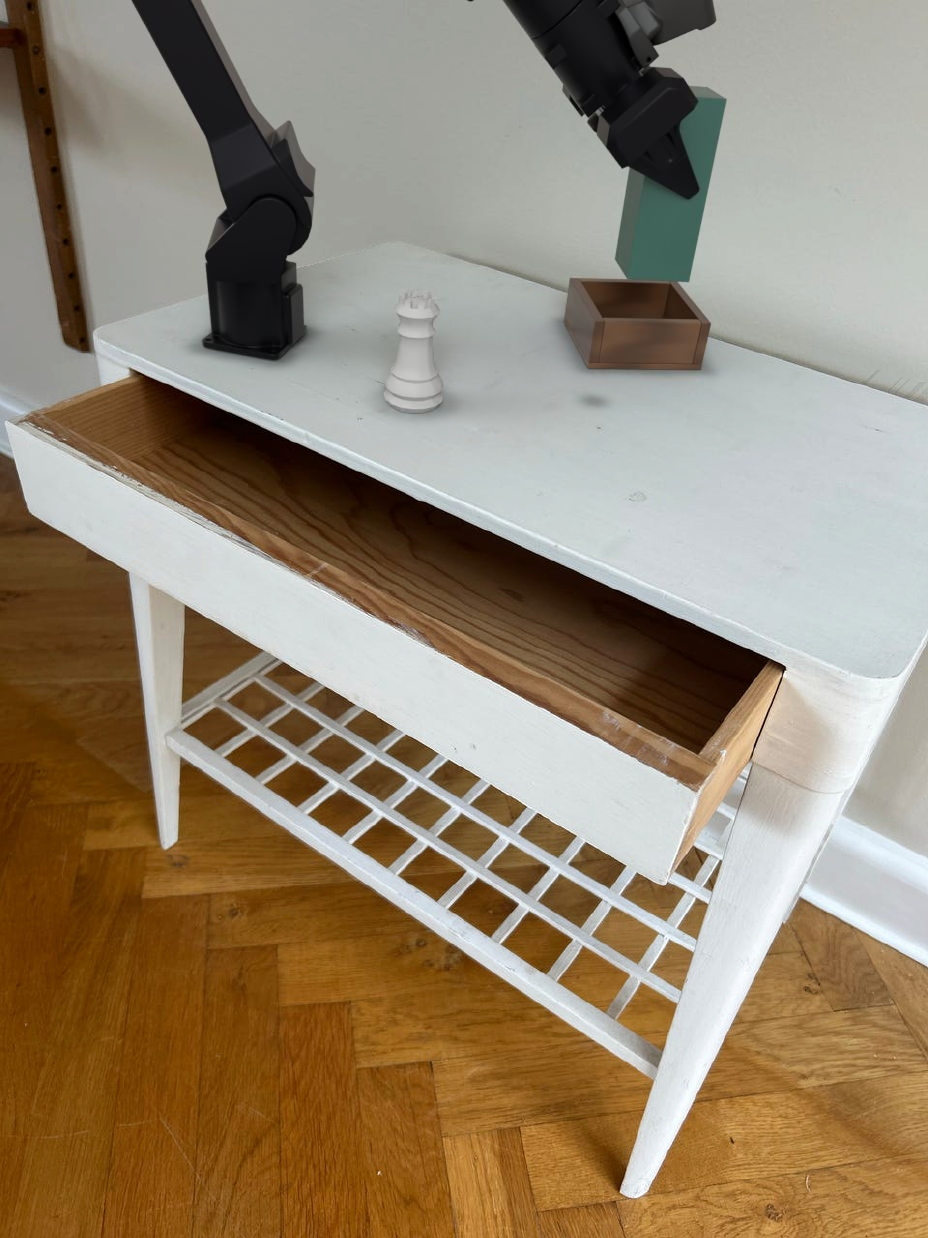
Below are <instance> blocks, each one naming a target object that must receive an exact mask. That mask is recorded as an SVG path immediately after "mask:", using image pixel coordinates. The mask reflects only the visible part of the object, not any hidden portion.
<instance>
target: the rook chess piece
mask: <svg viewBox="0 0 928 1238" xmlns="http://www.w3.org/2000/svg"><path fill="white" fill-rule="evenodd" d="M418 292H419V291H418V289H410V295H409V291H407V290H403V291H401V292H400V294H399V296H398V297H399V299H398V301H397V302H396V303H395V305H394V306H393V311H394V312H395V314H396V315H397V317H398V318H399V324H398V325H397V327H396V329H395V330H396V332H397V334H398V346H397V351H396V356H395V360H394V363H393V365H392V366H391V368H390V372H389V373H387V376H386V377H385V380H384V385H385V388H386V389H385V390H384V392H383V398H384V400H385V401H386V403H387V404H388V405H389V406H390V407H392V408H393V409H394V410H396V411H399V412H401V413H406V414H407V413H408V414H424V413H429V412H432V411H433V410H435V409H436V408H438V407H439V406H440V404H442V403H443V400H444V395H443V392H442V390H443V388H444V382H443V380H442V377H441V376H440V374H439V370H438V368H437V367H436V365H435V358H434V347H433V342H434V336H435V334H436V333H437V330H436V328H435V327H434V321H435V320H436V319H437V318H438V316H439V315H440V313H441V309H440V307H439V306H438V304H437V303H436V301H437V296H436V294H435V293H434V294H431V291H428V290H423V291H422V295H418Z"/></svg>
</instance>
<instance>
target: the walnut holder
mask: <svg viewBox="0 0 928 1238" xmlns="http://www.w3.org/2000/svg"><path fill="white" fill-rule="evenodd" d="M566 295H567V296H566V303H565V312H564V318H563V324H564V325H565V327H566V329H567V331H568V333H569V336H570V337H571V339H572V341H573V343H574V344H575V347H576V349H577V350H578V353H579V354H580V356H581V358H582V360H583V362H584V364H585V367H586V368H587V369H591V370H592V369H593V370H595V369H596V370H601V369H602V370H685V371H689V370H690V371H691V370H694V371H695V370H696V371H701V370H702V366H703V361H704V357H705V353H706V349H707V343H708V339H709V335H710V332H711V331H710V330H711V326H712V322H711V321H710V320H709V318H707V316H706V315H705V314H704V313H703V311H702V310H701V309H700V308H699V306H698V305H697V304H696V303H695V301H694V300H693V298H691V296H690V295H689V294H688V292H687V291H686V290H685V289H684V288H683V287H682V285H681V284H680V282H674V281H655V280H636V279H627V278H596V277H595V278H594V277H592V278H591V277H569V281H568V288H567V294H566Z"/></svg>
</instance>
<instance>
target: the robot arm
mask: <svg viewBox="0 0 928 1238" xmlns="http://www.w3.org/2000/svg"><path fill="white" fill-rule="evenodd" d="M130 1H131V3H132V4H133V6H134V8H135V10H136V11H137V14H138V16H139V17H140V19H141V21H142V23H143V24H144V27H145V28H146V30H147V32H148V34H149V35H150V37H151V40H152V41H153V43H154V45H155V47H156V49H157V51H158V52H159V54H160V56H161V58H162V60H163V61H164V63H165V65H166V67H167V69H168V71H169V72H170V74H171V76H172V78H173V80H174V82H175V83H176V85H177V87H178V90H179V91H180V93H181V95H182V96H183V98H184V100H185V102H186V104H187V106H188V108H189V109H190V111H191V113H192V115H193V117H194V119H195V120H196V122H197V124H198V126H199V128H200V130H201V132H202V133H203V135H204V137H205V140H206V142H207V146H208V149H209V153H210V157H211V160H212V164H213V168H214V172H215V175H216V179H217V183H218V186H219V191H220V193H221V197H222V199H223V202H224V204H225V207H226V208H225V209H224V210H223V211H222V212H221V213H220V214H219V215H218V216H217V217H216V220H215V223H214V226H213V229H212V232H211V234H210V238H209V241H208V244H207V248H206V251H205V254H204V258H205V259H204V260H205V261H206V262H205V263H204V265H205V266H204V267H205V277H206V287H207V297H208V309H209V321H210V332H209V333H208V334H207V335H206V336H204V337H203V338H202V339H201V343H202V346H203V347H204V348H208V349H212V350H213V349H214V350H220V351H224V352H229V353H236V354H241V355H247V356H252V357H257V358H263V359H269V360H279V359H280V358H281V357H282V356H283V355H284V354H285V353H287V352H288V351H289V350H290V348H291V347H293V346H294V345H295V344H296V343H297V342H298V341H299V340H300V339H301V338H302V337H303V336H305V334H306V333H307V332H308V326H307V325H306V324H305V311H304V310H305V309H304V306H305V305H304V287H303V285H302V283H300V282H299V283H298V270H297V262H295V261H289V260H287V259H288V257H289V256H292V255H294V254H295V253H296V252H298V251H299V250H301V249H303V247H304V245H305V244H306V242H307V241H308V240H309V237H310V234H311V231H312V228H313V220H314V219H313V218H314V207H315V182H316V171H317V169H316V167H314V166H313V164H311V163H310V161H308V160H307V158H306V157H305V154H303V152H302V149H301V147H300V144H299V141H298V138H297V134H296V132H295V128H294V125H293V123H292V121H291V120H286V121H285V122H284V123H282V124H281V125H279V126H278V127H277V128H276V129H275V128H274V127H273V126H272V125H271V123H270V122H269V121H268V120H267V119H266V117H264V116H263V114H262V113H261V112H260V111H259V110H258V108H257V106H255V104H254V102H253V101H252V98H251V97H250V95H249V92H248V91H247V87H246V86H245V85H244V83H243V80H242V78H241V76H240V75H239V73H238V70H237V68H236V67H235V65H234V63H233V61H232V59H231V56H230V54H229V53H228V51H227V49H226V46H225V44H224V43H223V41H222V39H221V37H220V35H219V33H218V31H217V28H216V27H215V25H214V23H213V21H212V19H211V16H210V15H209V13H208V11H207V9H206V7H205V5H204V3H203V1H202V0H130ZM466 1H467V2H469V3H470V2H474V1H475V0H466ZM502 2H503V3H504V5H505V6H506V7H507V9H508V10H509V11H510V13H511V14H512V16H513V17H514V18H515V20H516V21H517V23H518V24H519V25H520V26H521V28H522V29H523V31H524V32H525V34H526V35H527V37H528V38H529V39H530V40H531V42H532V44H533V46H534V47H535V49H536V50H537V52H538V53H539V54H540V55H541V56H542V59H544V61H545V62H546V63H547V64H548V66H549V67H550V68H551V70H552V71H553V73H554V74H555V75H556V76H557V78H558V79H559V81H560V82H561V83H562V93H563V95H565V97H566V99H567V100H568V101H569V103H570V104H571V105H572V107H573V108H574V110H575V111H576V112H577V114H578V115H579V116H580V117H581V118H582V117H583V116H586V118H587V120H586V123H587V125H588V126H589V128H590V129H591V130H592V131H593V132H594V133H596V136H597V138H598V139H599V140H600V141H601V143H602V145H603V146H604V147H605V148H606V150H607V152H608V153H609V154H610V156H611V157H612V158H613V160H614V161H615V162H616V163H617V165H618V166H619V167H620V169H621V170H623V169H626V168H629V167H630V168H632V169H633V170H635V171H637V172H639V173H641V174H643V175H645V176H646V177H648V178H650V179H652V180H654V181H656V182H657V183H659V184H661V185H663V186H664V187H666V188H668V189H670V190H672V191H673V192H675V193H677V194H679V195H680V196H682V197H684V198H686V199H691V198H692V197H693V196H695V195H696V194H697V193H698V192H699V190H700V188H699V185H698V182H697V179H696V176H695V174H694V171H693V168H692V165H691V162H690V160H689V157H688V154H687V151H686V148H685V145H684V142H683V139H682V136H681V133H680V124H681V121H682V120H683V119H684V118H685V117H686V116H687V115H689V114H690V113H691V112H692V111H693V110H694V109H695V107H696V106H697V104H698V102H699V101H698V99H697V98H696V96H695V95H694V93H693V92H692V90H691V89H690V87H689V86H690V85H689V83H687V80H686V79H685V78H684V77H683V76H682V75H681V74H679V73H678V72H677V71H676V70H674V69H673V68H671V67H663V66H661V67H660V66H651V64H652V63H654V62H655V61H656V60H657V59H658V58H659V57H660V54H659V52H658V51H657V49H656V48H655V47H656V46H659V45H663V44H665V43H668V42H670V41H672V40H675V39H677V38H679V37H681V36H683V35H686V34H688V33H690V32H693V31H695V30H697V31H703V30H705V29H707V28H710V27H712V26H713V25H714V24H715V23H716V22H717V15H716V10H715V5H714V0H502Z"/></svg>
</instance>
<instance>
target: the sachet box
mask: <svg viewBox="0 0 928 1238" xmlns="http://www.w3.org/2000/svg"><path fill="white" fill-rule="evenodd" d="M689 87H690V89H691V90H692V92H693V93H694V95H695V96H696V98H697V99H698V101H699V102H698V104H697V106H696V107H695V109H694V110H693V111H692V112H691V113H690V114H689V115H687V116H686V117H685V118H684V119H683V120H682V121H681V124H680V133H681V136H682V139H683V142H684V145H685V148H686V151H687V154H688V157H689V160H690V162H691V165H692V168H693V171H694V174H695V176H696V179H697V182H698V185H699V188H700V190H699V192H698V193H697V194H696V195H695V196H693V197H692V198H691V199H686V198H684V197H682V196H680V195H679V194H677V193H675V192H673V191H672V190H670V189H668V188H666V187H664V186H663V185H661V184H659V183H657V182H656V181H654V180H652V179H650V178H648V177H646V176H645V175H643V174H641V173H639V172H637V171H635V170H633V169H632V168H630V167H628V174H627V181H626V187H625V193H624V200H623V206H622V212H621V217H620V218H621V219H620V224H619V229H618V236H617V243H616V248H615V249H616V250H615V255H614V260H615V262H616V264H617V265H618V267H619V269H620V270H621V272H622V274H623V275H624V276H625V279H636V280H655V281H674V282H678V283H690V280H691V275H692V271H693V265H694V259H695V255H696V251H697V246H698V241H699V237H700V233H701V226H702V221H703V217H704V212H705V208H706V202H707V197H708V193H709V187H710V182H711V176H712V173H713V168H714V164H715V159H716V153H717V149H718V145H719V140H720V133H721V129H722V125H723V120H724V116H725V110H726V105H727V102H728V101H727V100H728V99H727V98H726V97H724V96H723V95H721V94H719V93H718V92H716V91H715V90H713V89H711V87H709V86H700V85H699V86H698V85H689Z"/></svg>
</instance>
